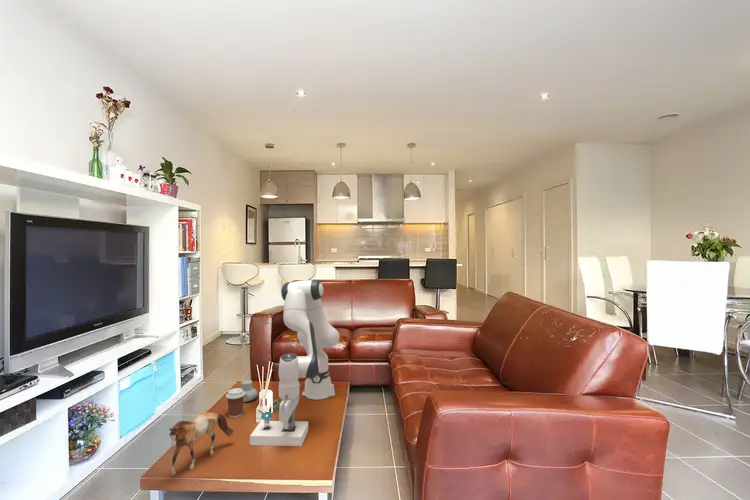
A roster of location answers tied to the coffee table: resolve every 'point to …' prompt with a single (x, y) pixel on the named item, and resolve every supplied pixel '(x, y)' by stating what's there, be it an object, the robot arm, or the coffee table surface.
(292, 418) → the peg
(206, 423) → the horse figurine
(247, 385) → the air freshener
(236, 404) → the coffee cup
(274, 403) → the decorative artifact
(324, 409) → the coffee table surface
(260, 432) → the socket block
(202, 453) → the coffee table surface
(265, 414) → the lock pin
